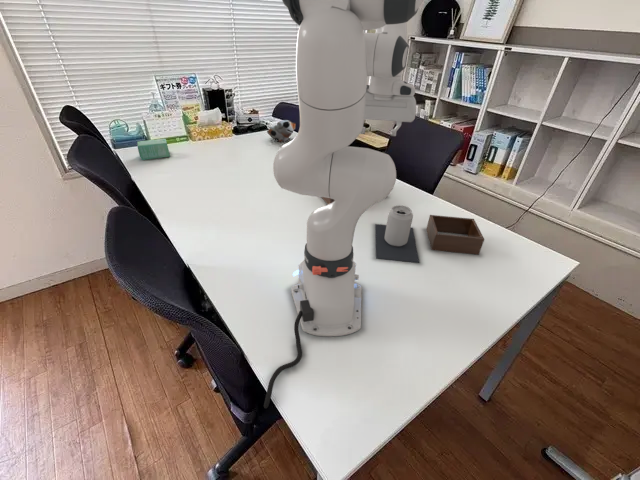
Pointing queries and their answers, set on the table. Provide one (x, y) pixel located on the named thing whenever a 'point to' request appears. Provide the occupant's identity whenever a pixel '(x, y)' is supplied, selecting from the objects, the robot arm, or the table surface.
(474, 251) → the crate
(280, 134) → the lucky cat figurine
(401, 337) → the table surface
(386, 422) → the table surface
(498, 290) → the table surface
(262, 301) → the table surface
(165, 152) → the box
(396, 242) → the can
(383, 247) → the mat
